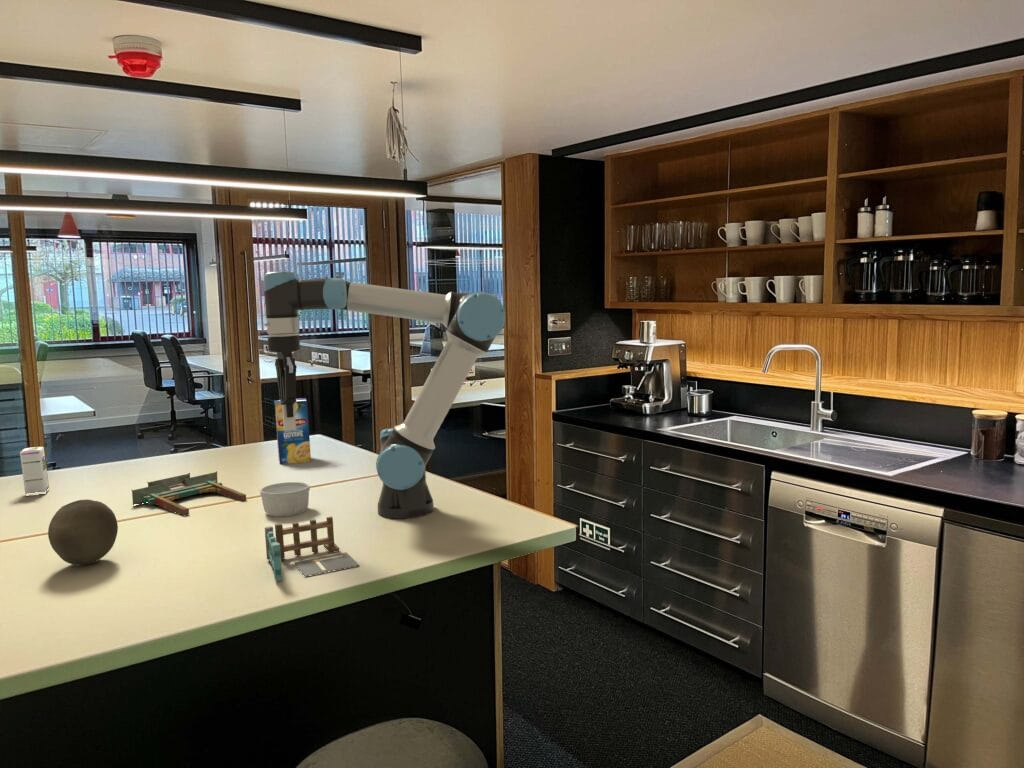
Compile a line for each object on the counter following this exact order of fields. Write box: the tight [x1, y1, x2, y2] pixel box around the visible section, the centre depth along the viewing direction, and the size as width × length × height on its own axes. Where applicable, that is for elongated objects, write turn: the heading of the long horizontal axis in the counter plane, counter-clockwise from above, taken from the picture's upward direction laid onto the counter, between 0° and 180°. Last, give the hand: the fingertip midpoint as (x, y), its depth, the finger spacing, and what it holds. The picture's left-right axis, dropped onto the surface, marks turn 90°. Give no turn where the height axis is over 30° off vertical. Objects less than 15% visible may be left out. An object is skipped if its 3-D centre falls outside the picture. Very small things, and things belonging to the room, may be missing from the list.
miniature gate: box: [130, 471, 247, 516], centre depth 234 cm, size 27×6×30 cm
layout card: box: [293, 551, 360, 577], centre depth 175 cm, size 12×10×1 cm
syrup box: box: [19, 446, 50, 494], centre depth 247 cm, size 6×6×14 cm
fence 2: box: [274, 516, 340, 560], centre depth 182 cm, size 14×5×8 cm, turn 118°
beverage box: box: [273, 397, 312, 465], centre depth 282 cm, size 7×11×22 cm, turn 110°
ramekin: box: [259, 481, 311, 518], centre depth 218 cm, size 13×13×7 cm
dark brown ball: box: [47, 499, 119, 566], centre depth 179 cm, size 14×14×15 cm
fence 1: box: [264, 525, 283, 582], centre depth 172 cm, size 16×2×8 cm, turn 23°
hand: (289, 429), depth 196 cm, fingers closed
